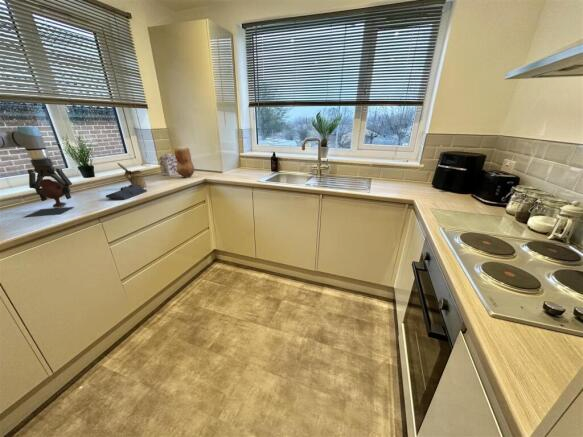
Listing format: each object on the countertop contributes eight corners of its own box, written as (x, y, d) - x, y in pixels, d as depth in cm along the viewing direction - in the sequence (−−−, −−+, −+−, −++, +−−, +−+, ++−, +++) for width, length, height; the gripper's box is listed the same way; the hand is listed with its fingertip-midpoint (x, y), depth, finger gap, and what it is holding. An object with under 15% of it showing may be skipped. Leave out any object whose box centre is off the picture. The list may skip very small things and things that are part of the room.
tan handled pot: (125, 187, 171) (117, 161, 164) (146, 184, 177) (140, 160, 170) (124, 190, 164) (116, 163, 157) (146, 187, 170) (140, 161, 163)
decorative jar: (169, 176, 203) (164, 154, 197) (161, 175, 209) (156, 153, 202) (181, 173, 213) (177, 153, 206) (174, 172, 219) (170, 152, 212)
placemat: (19, 219, 116) (19, 218, 116) (41, 209, 129) (41, 209, 129) (57, 216, 119) (57, 215, 119) (74, 207, 132) (74, 206, 132)
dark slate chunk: (101, 199, 143) (99, 192, 142) (129, 190, 164) (127, 183, 162) (124, 200, 141) (122, 192, 140) (149, 190, 162) (148, 183, 160)
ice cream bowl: (60, 208, 127) (49, 180, 121) (40, 208, 127) (27, 181, 121) (77, 202, 137) (67, 176, 131) (58, 202, 137) (47, 176, 131)
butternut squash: (175, 177, 198) (168, 146, 188) (189, 174, 208) (184, 144, 199) (185, 179, 190) (178, 147, 181) (199, 176, 201) (194, 145, 191)
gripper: (70, 156, 128) (85, 195, 136) (19, 158, 123) (37, 199, 132) (61, 158, 121) (77, 199, 129) (6, 160, 117) (26, 203, 125)
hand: (57, 199), depth 130 cm, fingers closed on ice cream bowl, 11 cm apart
